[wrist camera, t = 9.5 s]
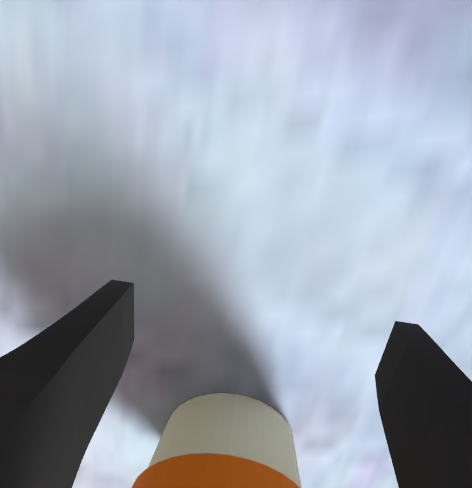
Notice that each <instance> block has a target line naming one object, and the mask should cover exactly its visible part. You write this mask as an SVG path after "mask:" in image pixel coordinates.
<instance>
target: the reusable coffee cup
mask: <svg viewBox="0 0 472 488" xmlns="http://www.w3.org/2000/svg"><path fill="white" fill-rule="evenodd" d="M132 488H301V482H300V476H299V470H298V464H297V458H296V452H295V446H294V440H293V435H292V430H291V428H290V426H289V424H288V422H287V421H286V420H285V419H284V417H283V416H282V415H281V414H280V413H279V412H277V411H276V410H275V409H274V408H272V407H271V406H269V405H267V404H265V403H263V402H262V401H259V400H256V399H254V398H251V397H248V396H243V395H239V394H231V393H212V394H206V395H201V396H197V397H195V398H192V399H190V400H187V401H186V402H184V403H183V404H181V405H180V406H178V407H177V408H176V409H175V410H174V412H173V413H172V414H171V416H170V418H169V420H168V422H167V425H166V427H165V429H164V432H163V434H162V436H161V439H160V441H159V443H158V446H157V448H156V450H155V453H154V455H153V457H152V460H151V462H150V464H149V467H148V468H147V469H146V470H145V471H144V472H143V473H141V474H140V475H139V476H138V477H137V479H136V481H135V483H134V485H133V487H132Z"/></svg>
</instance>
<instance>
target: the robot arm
mask: <svg viewBox="0 0 472 488" xmlns="http://www.w3.org/2000/svg"><path fill="white" fill-rule="evenodd" d="M133 341H134V283H130V282H123V281H116V280H111V281H110V282H108V283H107V284H106V285H104V286H103V287H102V288H100V289H99V290H98V291H96V292H95V293H94V294H93V295H91V296H90V297H89V298H87V299H86V300H85V301H84V302H82V303H81V304H80V305H78V306H77V307H76V308H74V309H73V310H72V311H70V312H69V313H68V314H66V315H65V316H64V317H62V318H61V319H59V320H58V321H57V322H55V323H54V324H53V325H51V326H50V327H48V328H47V329H45V330H44V331H42V332H41V333H39V334H38V335H36V336H35V337H33V338H32V339H30V340H29V341H27V342H26V343H24V344H23V345H21V346H19V347H18V348H16V349H14V350H13V351H11V352H9V353H7V354H6V355H4V356H2V357H0V488H72V486H73V483H74V480H75V477H76V475H77V472H78V469H79V466H80V464H81V461H82V459H83V456H84V454H85V452H86V449H87V447H88V445H89V443H90V441H91V438H92V436H93V434H94V432H95V430H96V428H97V426H98V424H99V422H100V420H101V418H102V416H103V413H104V411H105V409H106V407H107V405H108V403H109V401H110V399H111V397H112V395H113V393H114V390H115V388H116V386H117V384H118V382H119V380H120V378H121V376H122V373H123V371H124V368H125V365H126V362H127V359H128V356H129V353H130V350H131V347H132V344H133ZM375 380H376V389H377V398H378V405H379V412H380V416H381V420H382V424H383V428H384V432H385V436H386V440H387V444H388V448H389V451H390V455H391V459H392V463H393V467H394V471H395V474H396V478H397V482H398V486H399V488H472V381H471V380H470V379H469V378H468V377H467V376H466V375H465V374H464V373H463V372H462V371H461V370H460V369H459V368H458V367H457V366H456V365H455V363H454V362H453V361H452V360H451V359H450V358H449V357H448V356H447V355H446V354H445V353H444V351H443V350H442V349H441V348H440V347H439V346H438V345H437V344H436V343H435V342H434V341H433V339H432V338H431V337H430V336H429V335H428V334H427V333H426V332H425V331H424V330H423V329H422V328H421V327H420V326H419V325H418V324H411V323H404V322H398V321H395V324H394V326H393V329H392V332H391V334H390V337H389V340H388V342H387V345H386V347H385V350H384V353H383V355H382V358H381V361H380V363H379V366H378V369H377V371H376V374H375Z"/></svg>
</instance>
